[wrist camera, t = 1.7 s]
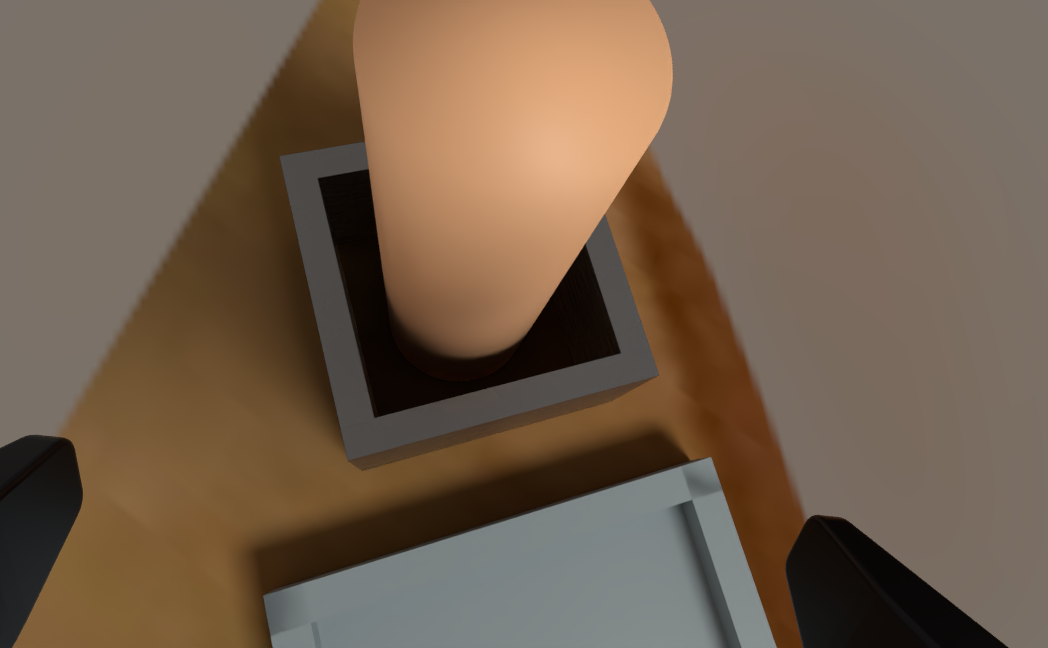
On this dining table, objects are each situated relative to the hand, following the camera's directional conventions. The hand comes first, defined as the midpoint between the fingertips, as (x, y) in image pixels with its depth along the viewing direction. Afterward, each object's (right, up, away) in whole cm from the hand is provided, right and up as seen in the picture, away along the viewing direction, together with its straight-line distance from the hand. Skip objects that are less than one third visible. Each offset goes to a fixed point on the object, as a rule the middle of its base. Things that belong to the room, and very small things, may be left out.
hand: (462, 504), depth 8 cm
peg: (-1, +3, +13) cm, 14 cm away
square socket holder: (-1, +3, +13) cm, 14 cm away
